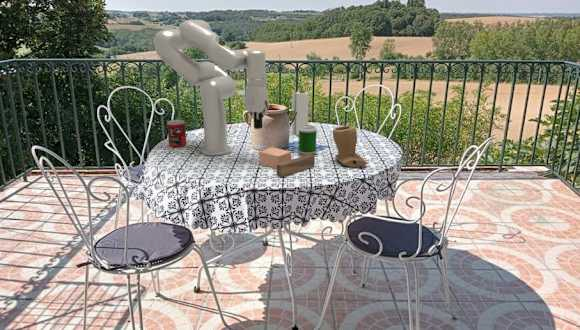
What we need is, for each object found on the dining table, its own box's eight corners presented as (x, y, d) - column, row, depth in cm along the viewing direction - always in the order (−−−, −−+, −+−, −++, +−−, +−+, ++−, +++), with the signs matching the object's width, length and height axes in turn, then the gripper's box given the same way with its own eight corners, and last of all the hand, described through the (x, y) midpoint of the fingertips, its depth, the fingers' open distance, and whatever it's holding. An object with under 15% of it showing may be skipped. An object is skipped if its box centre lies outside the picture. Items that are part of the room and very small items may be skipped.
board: (276, 175, 166) (276, 164, 164) (308, 164, 178) (308, 154, 177) (282, 177, 164) (282, 166, 162) (314, 166, 176) (314, 155, 175)
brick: (259, 164, 178) (259, 151, 176) (271, 159, 184) (271, 147, 183) (278, 169, 173) (278, 156, 171) (291, 164, 179) (291, 151, 177)
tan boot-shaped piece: (328, 157, 187) (329, 123, 182) (356, 156, 189) (358, 122, 184) (338, 169, 173) (339, 132, 168) (367, 168, 174) (369, 131, 170)
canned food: (165, 146, 202) (163, 122, 198) (176, 142, 209) (174, 119, 205) (179, 148, 199) (177, 124, 195) (189, 143, 206) (188, 120, 202)
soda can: (314, 156, 188) (315, 129, 184) (297, 155, 190) (297, 128, 186) (317, 151, 195) (317, 125, 191) (300, 150, 197) (300, 124, 193)
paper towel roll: (310, 134, 224) (310, 91, 217) (303, 136, 219) (304, 93, 212) (297, 132, 227) (298, 90, 221) (291, 134, 223) (291, 92, 216)
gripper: (237, 82, 178) (239, 127, 183) (262, 85, 168) (264, 132, 173) (251, 80, 183) (252, 124, 188) (276, 83, 173) (277, 129, 178)
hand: (258, 128), depth 181 cm, fingers closed
